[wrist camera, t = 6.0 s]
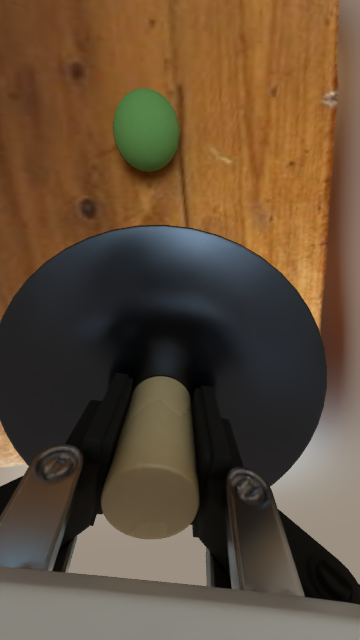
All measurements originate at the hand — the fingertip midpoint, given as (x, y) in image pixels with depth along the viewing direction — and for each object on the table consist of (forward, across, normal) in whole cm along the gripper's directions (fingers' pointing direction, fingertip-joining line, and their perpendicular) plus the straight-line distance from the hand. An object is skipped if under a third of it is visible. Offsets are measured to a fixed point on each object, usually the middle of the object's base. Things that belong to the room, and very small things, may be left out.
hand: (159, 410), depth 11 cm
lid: (+1, 0, 0) cm, 1 cm away
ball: (+17, +5, -17) cm, 24 cm away
